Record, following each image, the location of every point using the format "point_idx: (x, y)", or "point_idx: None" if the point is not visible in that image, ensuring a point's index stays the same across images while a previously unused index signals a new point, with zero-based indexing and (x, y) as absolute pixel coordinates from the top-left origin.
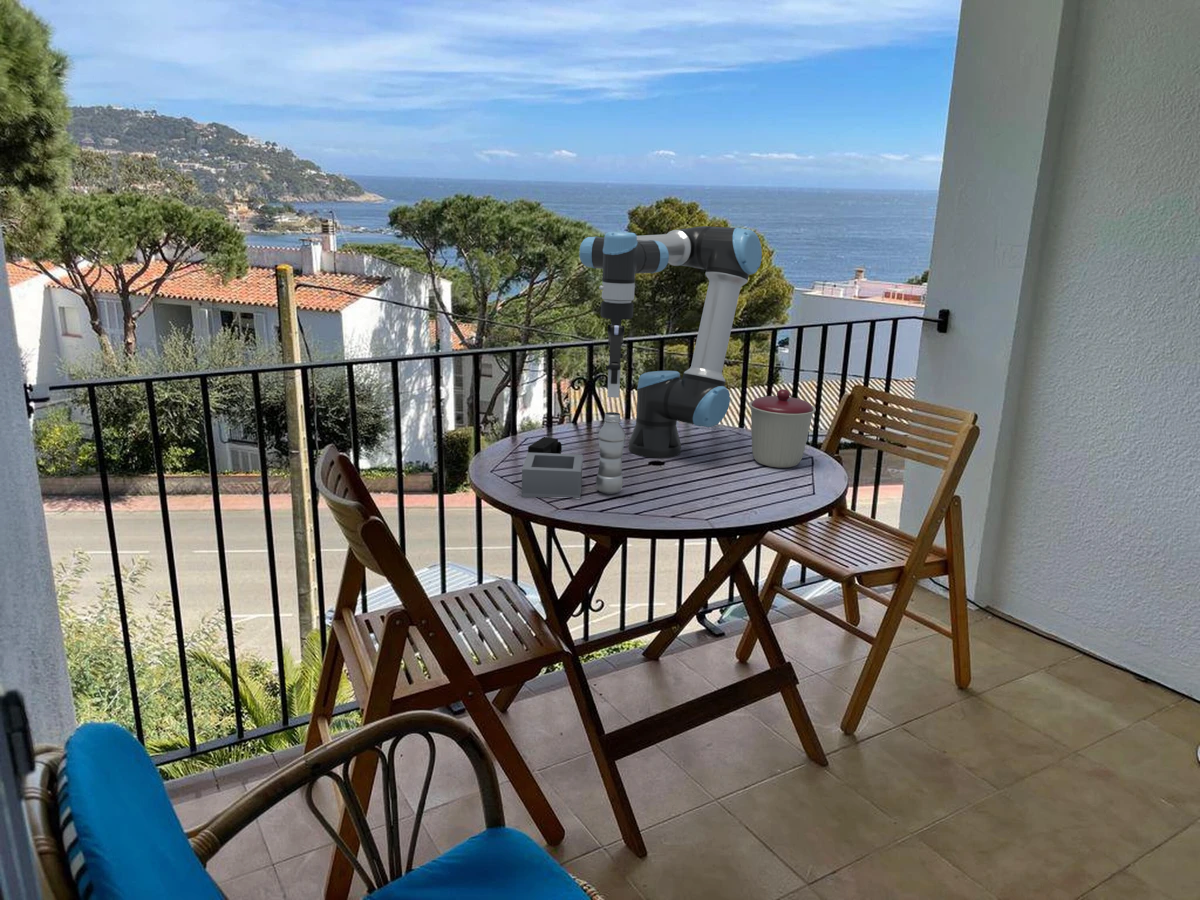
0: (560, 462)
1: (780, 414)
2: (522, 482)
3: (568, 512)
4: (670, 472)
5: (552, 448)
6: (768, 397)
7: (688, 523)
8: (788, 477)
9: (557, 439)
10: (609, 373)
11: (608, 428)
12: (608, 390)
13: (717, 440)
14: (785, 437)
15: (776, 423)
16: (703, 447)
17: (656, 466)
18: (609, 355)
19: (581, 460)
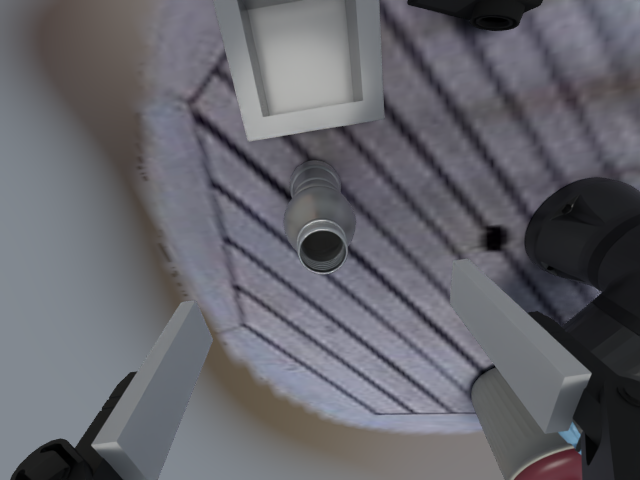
0: (356, 61)
1: (510, 477)
2: None
3: (181, 127)
4: (443, 265)
5: (483, 3)
6: None
7: (219, 307)
8: (436, 394)
9: (534, 5)
10: (115, 417)
11: (294, 227)
12: (168, 328)
13: None
14: (489, 438)
15: (506, 453)
16: (585, 298)
17: (475, 240)
18: (623, 395)
19: (334, 125)
